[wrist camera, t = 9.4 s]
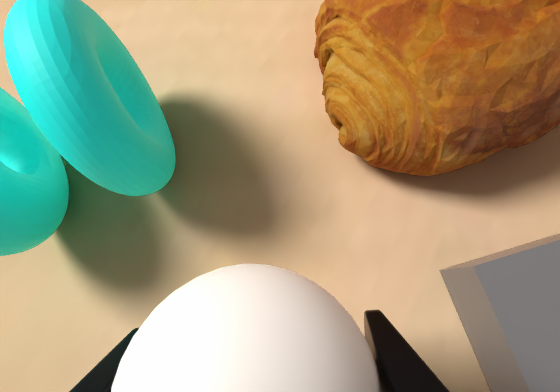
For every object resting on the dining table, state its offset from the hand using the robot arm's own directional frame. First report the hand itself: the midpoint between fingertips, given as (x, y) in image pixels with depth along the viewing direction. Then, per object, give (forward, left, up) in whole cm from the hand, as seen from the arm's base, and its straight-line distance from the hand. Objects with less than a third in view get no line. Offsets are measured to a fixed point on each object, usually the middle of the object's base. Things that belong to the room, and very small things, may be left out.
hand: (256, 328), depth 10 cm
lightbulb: (-1, 0, -7) cm, 7 cm away
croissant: (+11, -13, -9) cm, 19 cm away
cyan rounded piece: (+12, +9, -9) cm, 17 cm away
